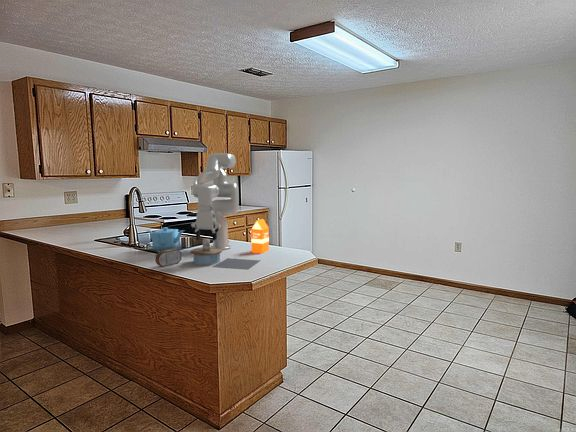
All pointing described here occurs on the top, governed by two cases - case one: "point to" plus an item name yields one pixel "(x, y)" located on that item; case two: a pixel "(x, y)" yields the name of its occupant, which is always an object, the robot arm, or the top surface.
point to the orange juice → (260, 237)
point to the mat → (237, 263)
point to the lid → (206, 249)
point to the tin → (168, 257)
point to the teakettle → (165, 238)
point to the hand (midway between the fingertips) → (206, 239)
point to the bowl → (206, 259)
